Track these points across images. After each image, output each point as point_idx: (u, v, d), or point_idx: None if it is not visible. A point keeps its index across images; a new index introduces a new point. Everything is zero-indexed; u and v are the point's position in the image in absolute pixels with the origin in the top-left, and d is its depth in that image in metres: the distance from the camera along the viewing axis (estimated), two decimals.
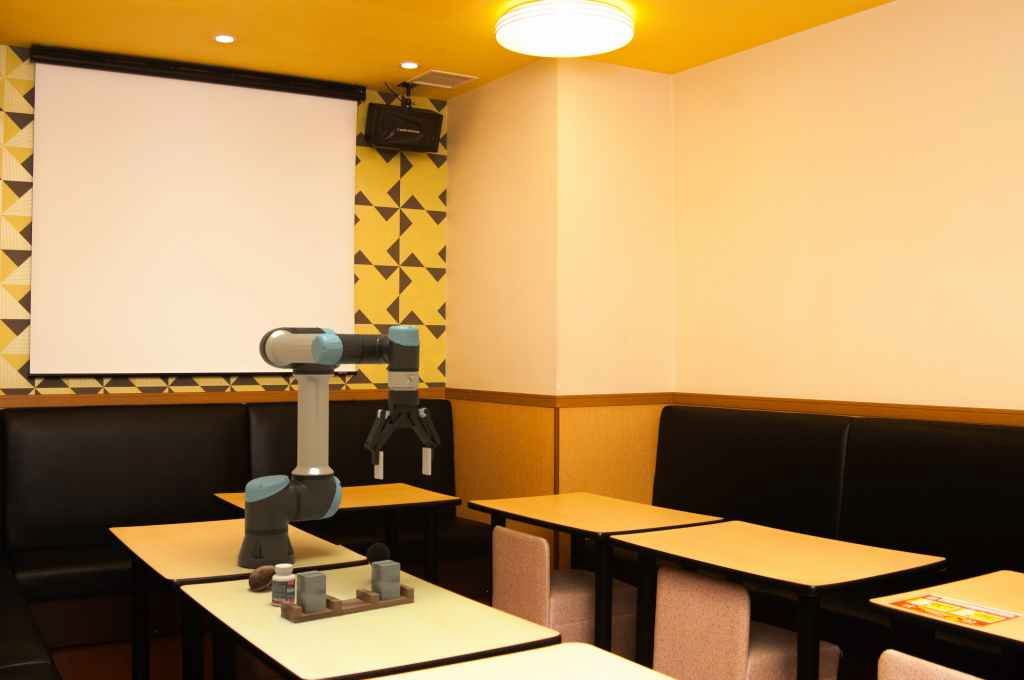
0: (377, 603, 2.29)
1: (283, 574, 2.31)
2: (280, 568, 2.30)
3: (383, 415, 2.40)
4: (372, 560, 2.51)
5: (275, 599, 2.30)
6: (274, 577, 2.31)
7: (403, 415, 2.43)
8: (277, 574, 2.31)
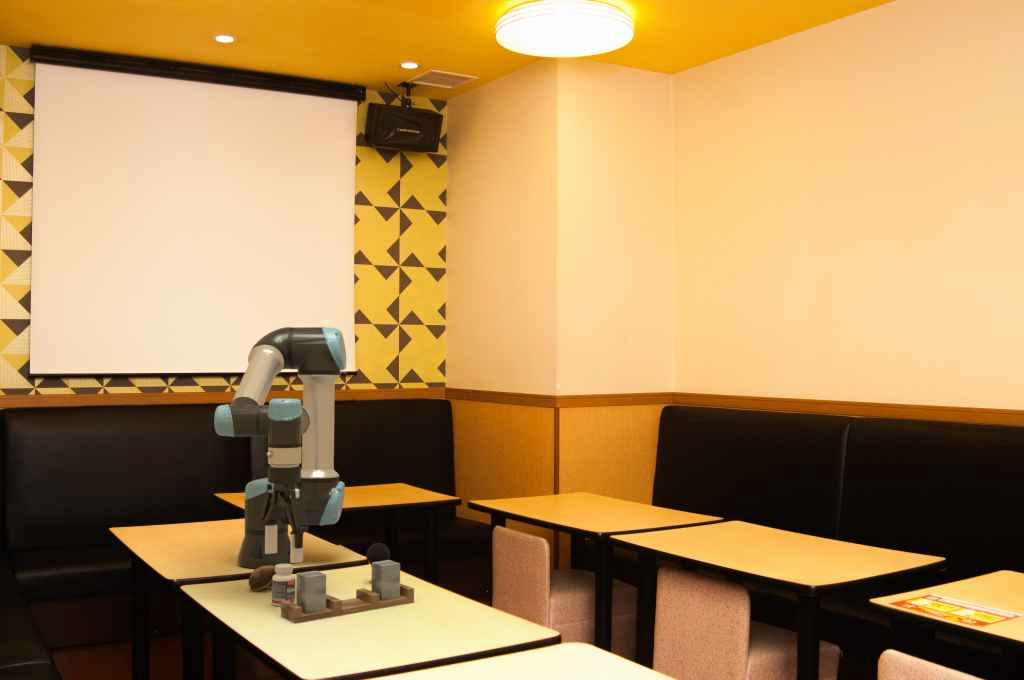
0: (377, 603, 2.29)
1: (283, 574, 2.31)
2: (280, 568, 2.30)
3: (267, 489, 2.37)
4: (372, 560, 2.51)
5: (275, 599, 2.30)
6: (274, 577, 2.31)
7: (274, 492, 2.32)
8: (277, 574, 2.31)
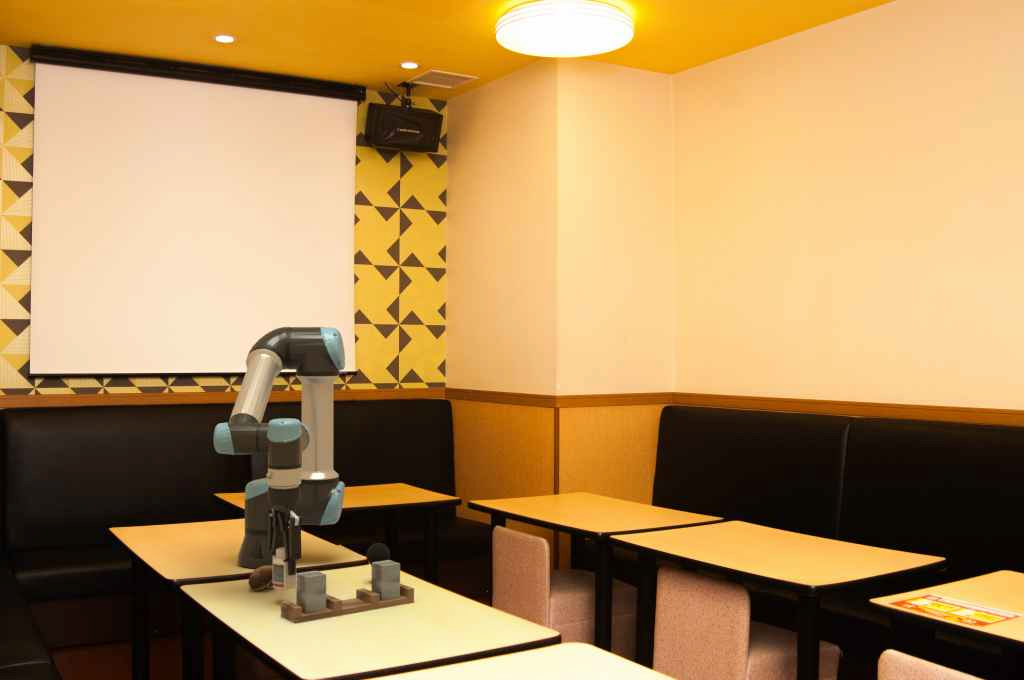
0: (377, 603, 2.29)
1: (284, 558, 2.31)
2: (281, 552, 2.31)
3: (268, 514, 2.37)
4: (372, 560, 2.51)
5: (277, 582, 2.31)
6: (275, 561, 2.31)
7: (274, 512, 2.32)
8: (278, 558, 2.32)
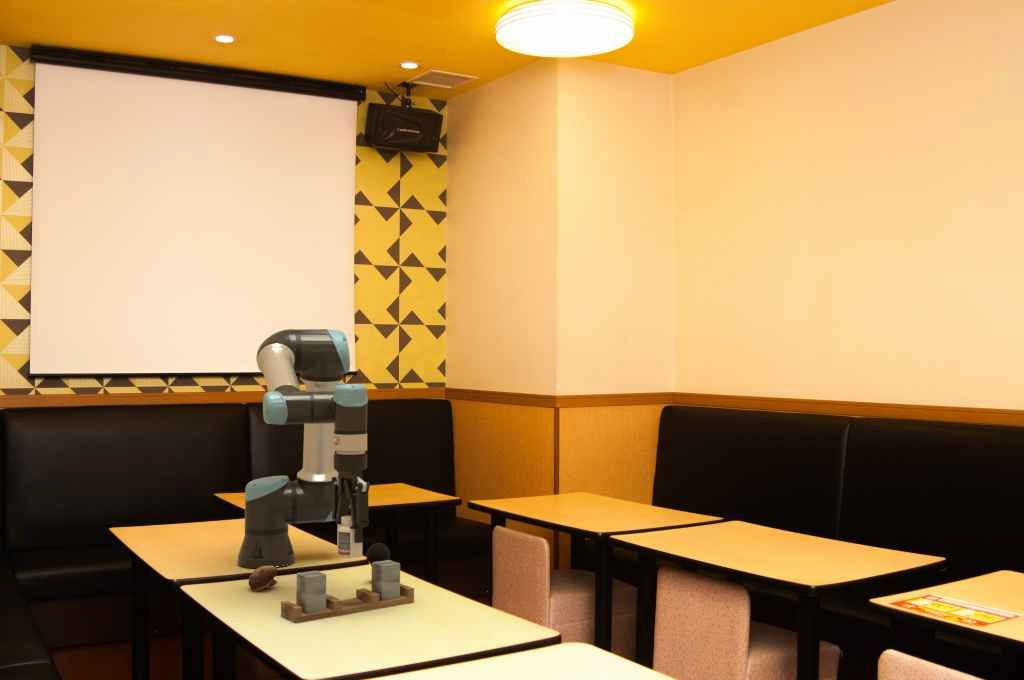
0: (377, 603, 2.29)
1: (350, 526, 2.27)
2: (347, 519, 2.26)
3: (333, 482, 2.32)
4: (372, 560, 2.51)
5: (342, 550, 2.26)
6: (341, 528, 2.27)
7: (339, 479, 2.28)
8: (344, 525, 2.27)
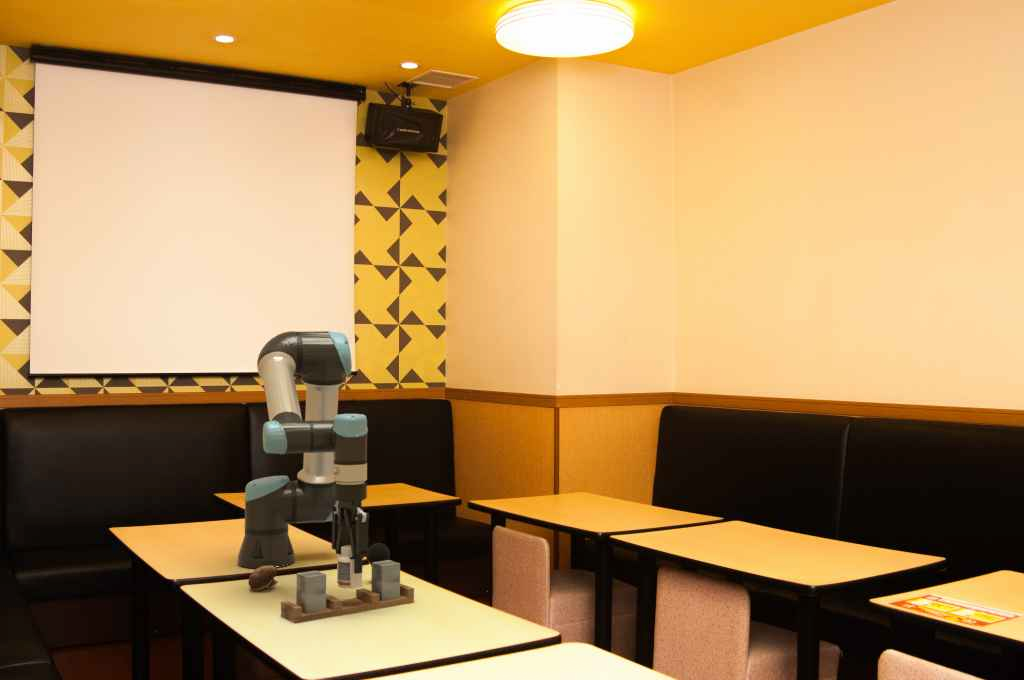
0: (377, 603, 2.29)
1: (350, 556, 2.26)
2: (347, 549, 2.26)
3: (332, 512, 2.32)
4: (372, 560, 2.51)
5: (342, 581, 2.26)
6: (340, 558, 2.27)
7: (339, 509, 2.28)
8: (343, 555, 2.27)
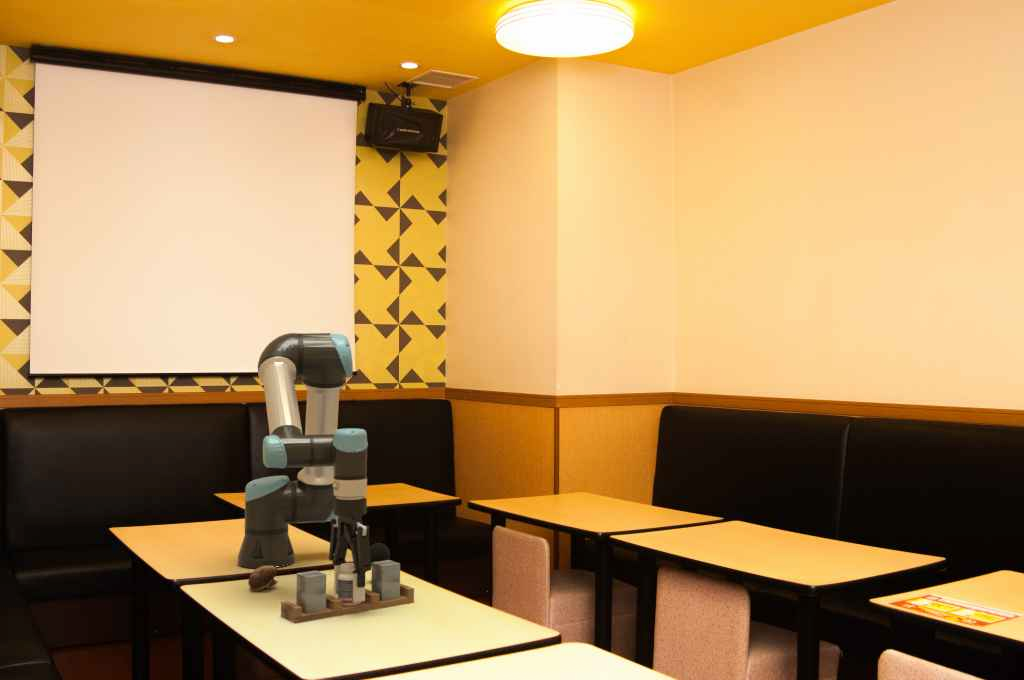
0: (377, 603, 2.29)
1: (350, 573, 2.27)
2: (346, 567, 2.26)
3: (332, 524, 2.32)
4: (372, 560, 2.51)
5: (342, 598, 2.26)
6: (340, 576, 2.27)
7: (339, 524, 2.28)
8: (343, 573, 2.27)
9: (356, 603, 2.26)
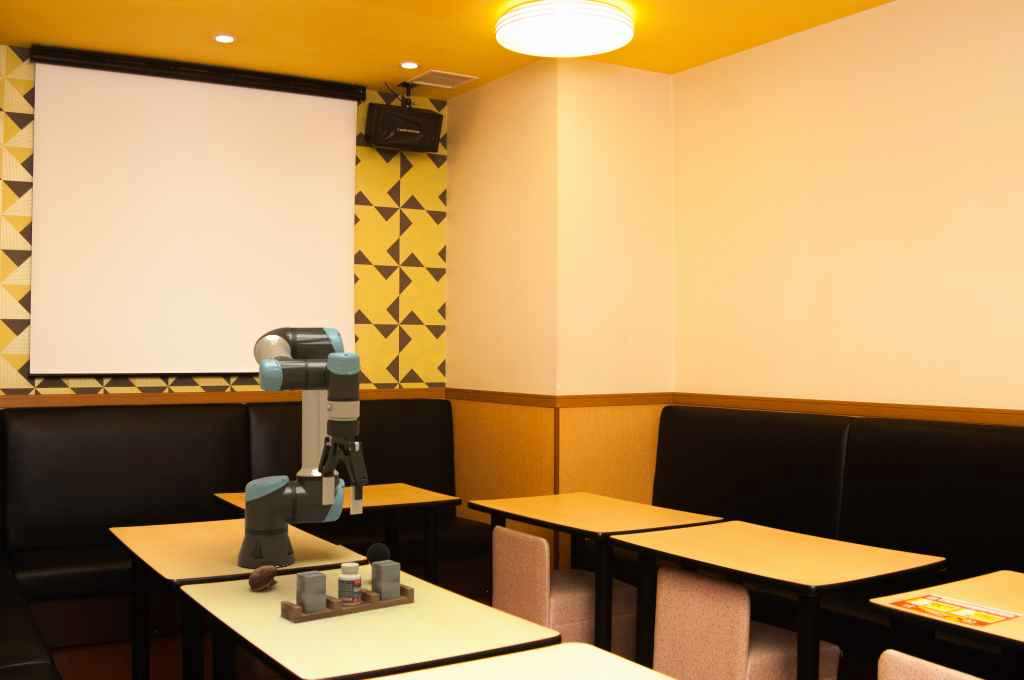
0: (377, 603, 2.29)
1: (350, 573, 2.27)
2: (347, 567, 2.26)
3: (325, 441, 2.40)
4: (372, 560, 2.51)
5: (342, 598, 2.26)
6: (340, 576, 2.27)
7: (332, 445, 2.35)
8: (343, 573, 2.27)
9: (356, 603, 2.26)
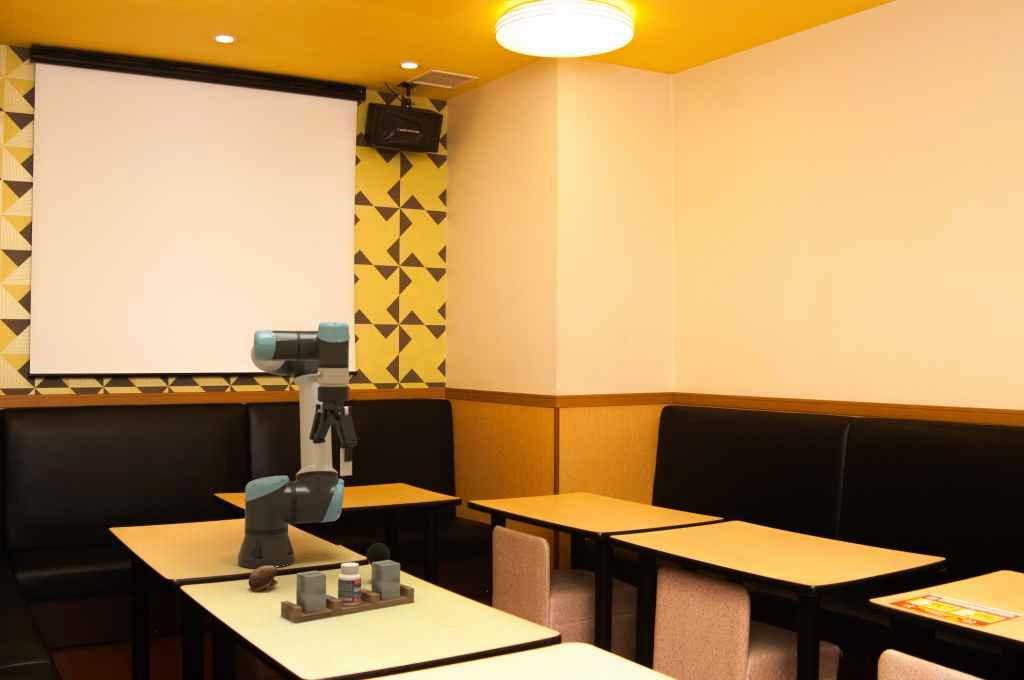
0: (377, 603, 2.29)
1: (350, 573, 2.27)
2: (347, 567, 2.26)
3: (316, 409, 2.50)
4: (372, 560, 2.51)
5: (342, 598, 2.26)
6: (340, 576, 2.27)
7: (323, 411, 2.45)
8: (343, 573, 2.27)
9: (356, 603, 2.26)
